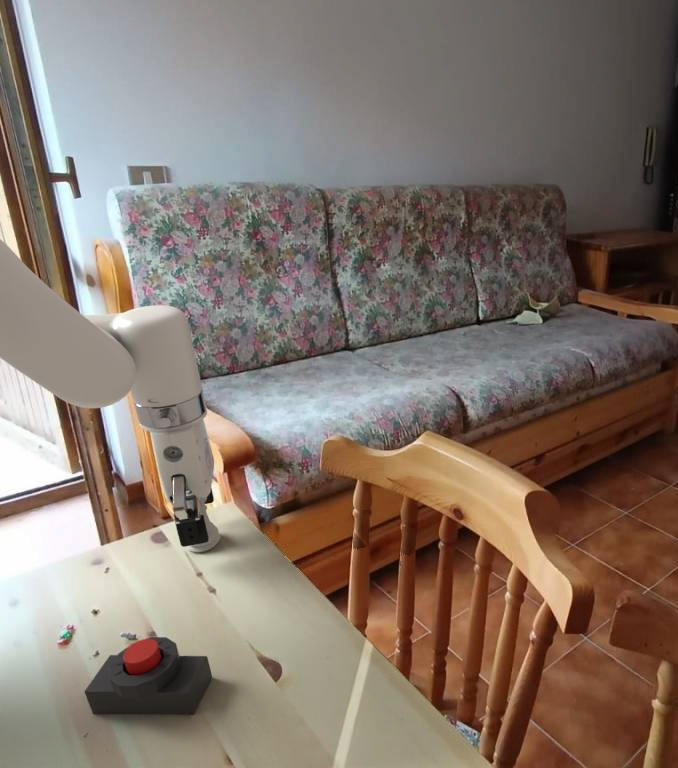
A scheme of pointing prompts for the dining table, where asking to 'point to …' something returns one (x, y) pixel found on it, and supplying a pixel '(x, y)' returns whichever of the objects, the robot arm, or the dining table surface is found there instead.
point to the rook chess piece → (211, 528)
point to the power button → (142, 657)
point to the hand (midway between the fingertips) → (198, 522)
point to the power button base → (151, 684)
